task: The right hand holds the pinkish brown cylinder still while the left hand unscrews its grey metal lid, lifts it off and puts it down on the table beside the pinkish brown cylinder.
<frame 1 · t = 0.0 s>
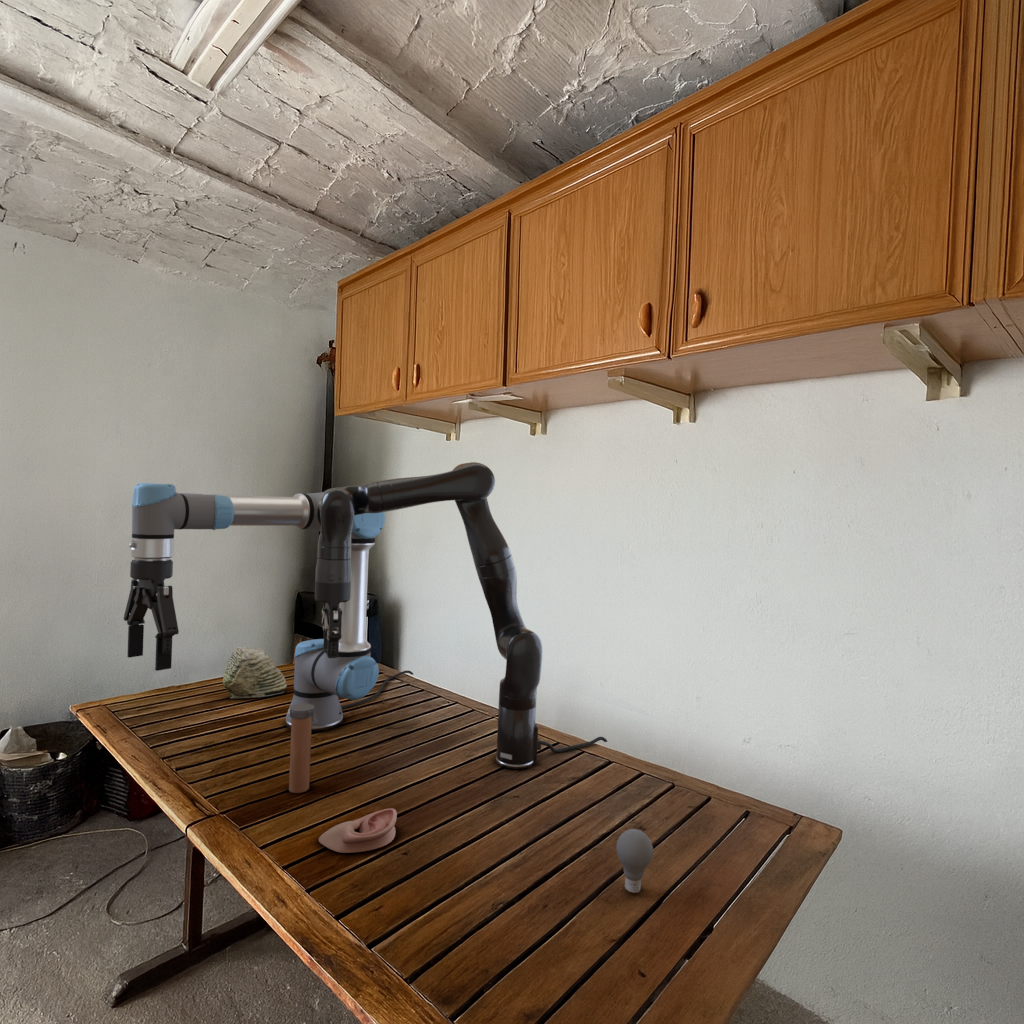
left hand: (148, 662, 129), 28 cm above the table, tool pointing down, fingers open, 13 cm apart
right hand: (330, 652, 138), 29 cm above the table, tool pointing down, fingers open, 8 cm apart
light bulb: (632, 891, 106), on the table
fossil: (254, 694, 198), on the table
lid: (302, 708, 137), point 17 cm above the table, screwed on, not yet turned
pinkish brown cylinder: (299, 788, 137), on the table
anatomical model: (358, 838, 118), on the table
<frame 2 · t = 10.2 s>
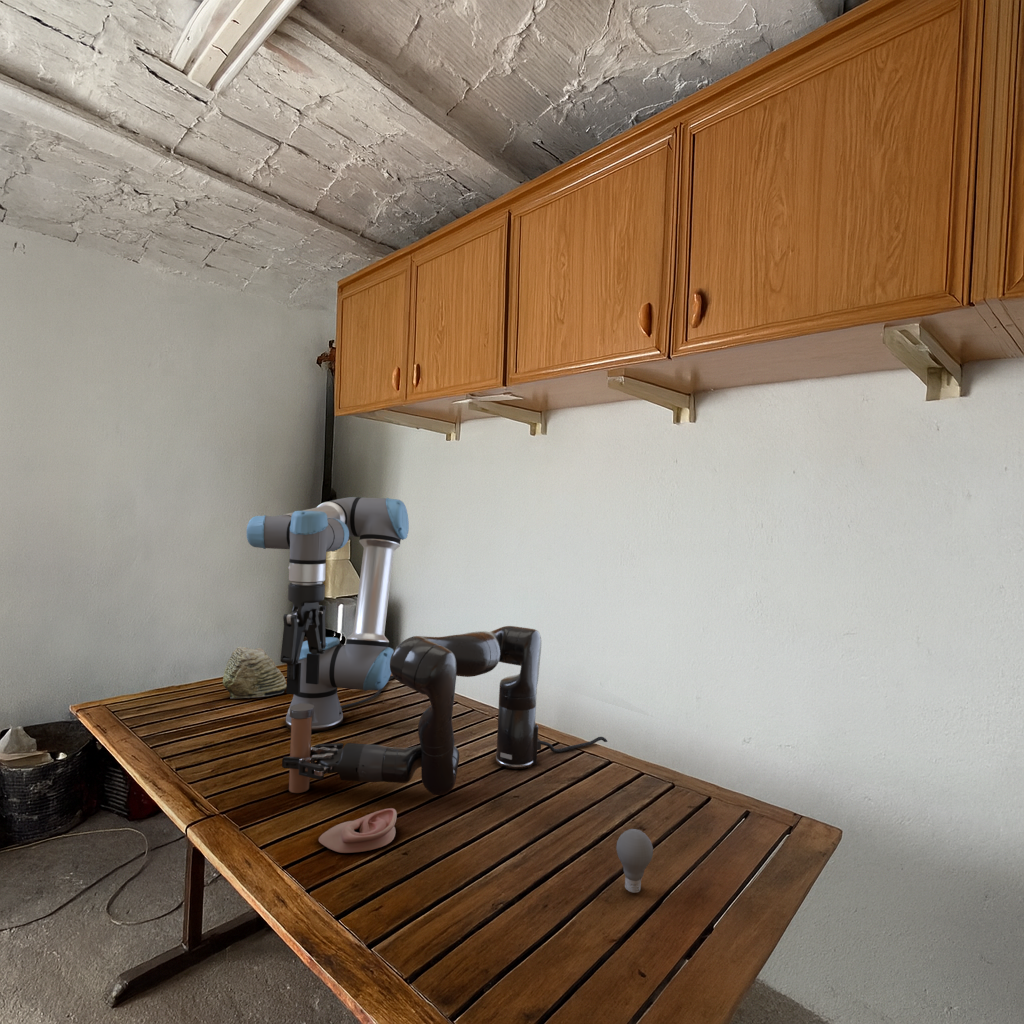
left hand: (302, 688, 137), 22 cm above the table, tool pointing down, fingers open, 7 cm apart
right hand: (287, 757, 137), 7 cm above the table, tool horizontal, fingers closed on pinkish brown cylinder, 4 cm apart
pinkish brown cylinder: (299, 788, 137), on the table, touching right hand
everything else where it was.
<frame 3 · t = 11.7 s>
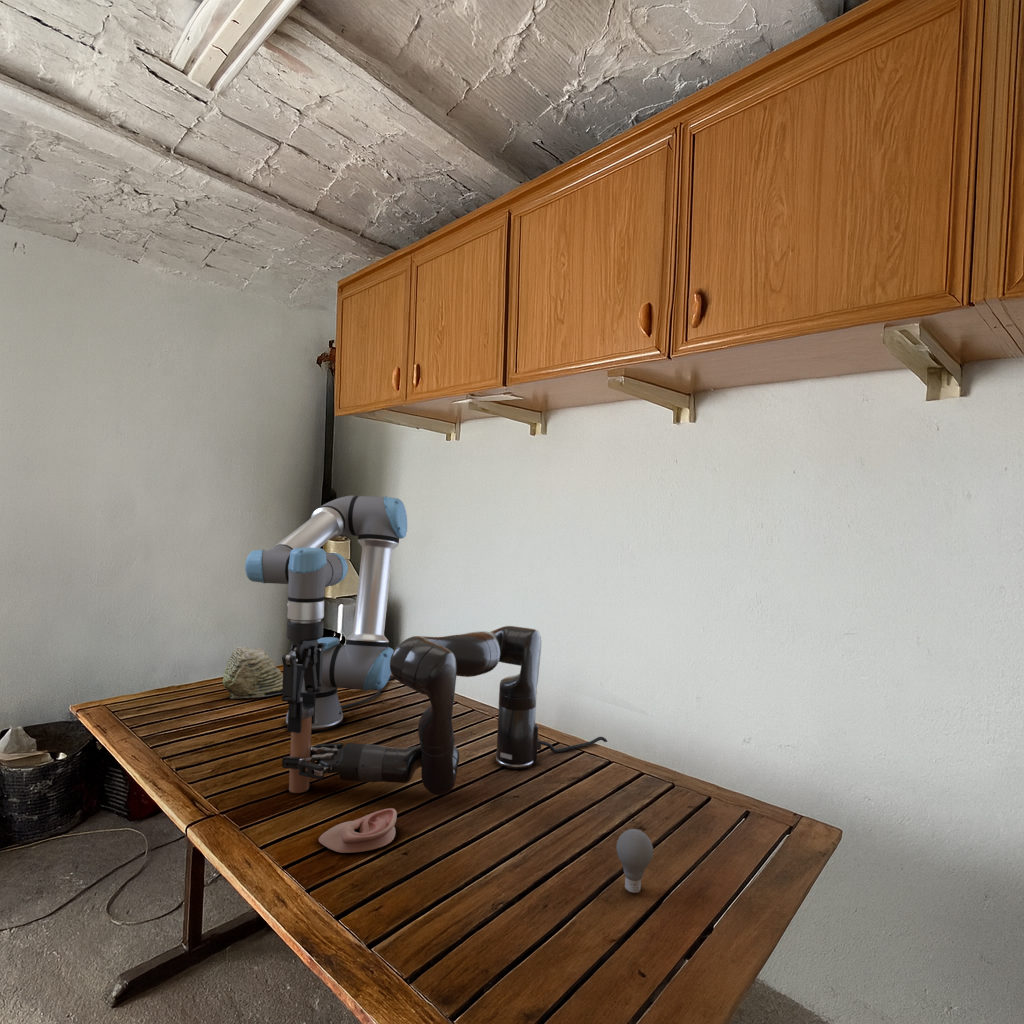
left hand: (301, 726, 137), 13 cm above the table, tool pointing down, fingers closed on lid, 5 cm apart
right hand: (287, 757, 137), 7 cm above the table, tool horizontal, fingers closed on pinkish brown cylinder, 4 cm apart
lid: (302, 708, 137), point 17 cm above the table, screwed on, not yet turned, touching left hand
pinkish brown cylinder: (299, 788, 137), on the table, touching right hand
everything else where it was.
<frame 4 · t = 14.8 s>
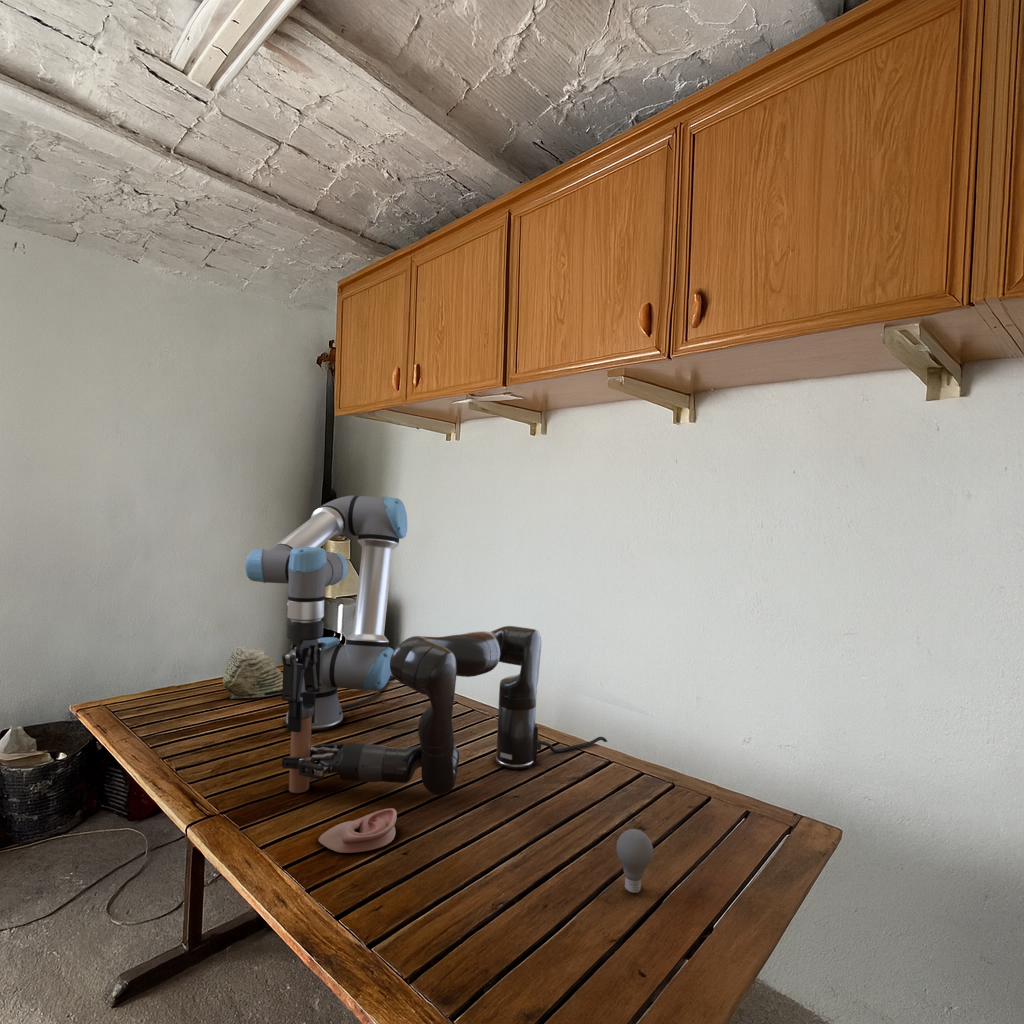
left hand: (301, 726, 137), 14 cm above the table, tool pointing down, fingers closed on lid, 5 cm apart
right hand: (287, 757, 137), 7 cm above the table, tool horizontal, fingers closed on pinkish brown cylinder, 4 cm apart
lid: (302, 708, 137), point 18 cm above the table, turned 77° so far, risen 0.1 cm, still on its thread, touching left hand
pinkish brown cylinder: (299, 788, 137), on the table, touching right hand
everything else where it was.
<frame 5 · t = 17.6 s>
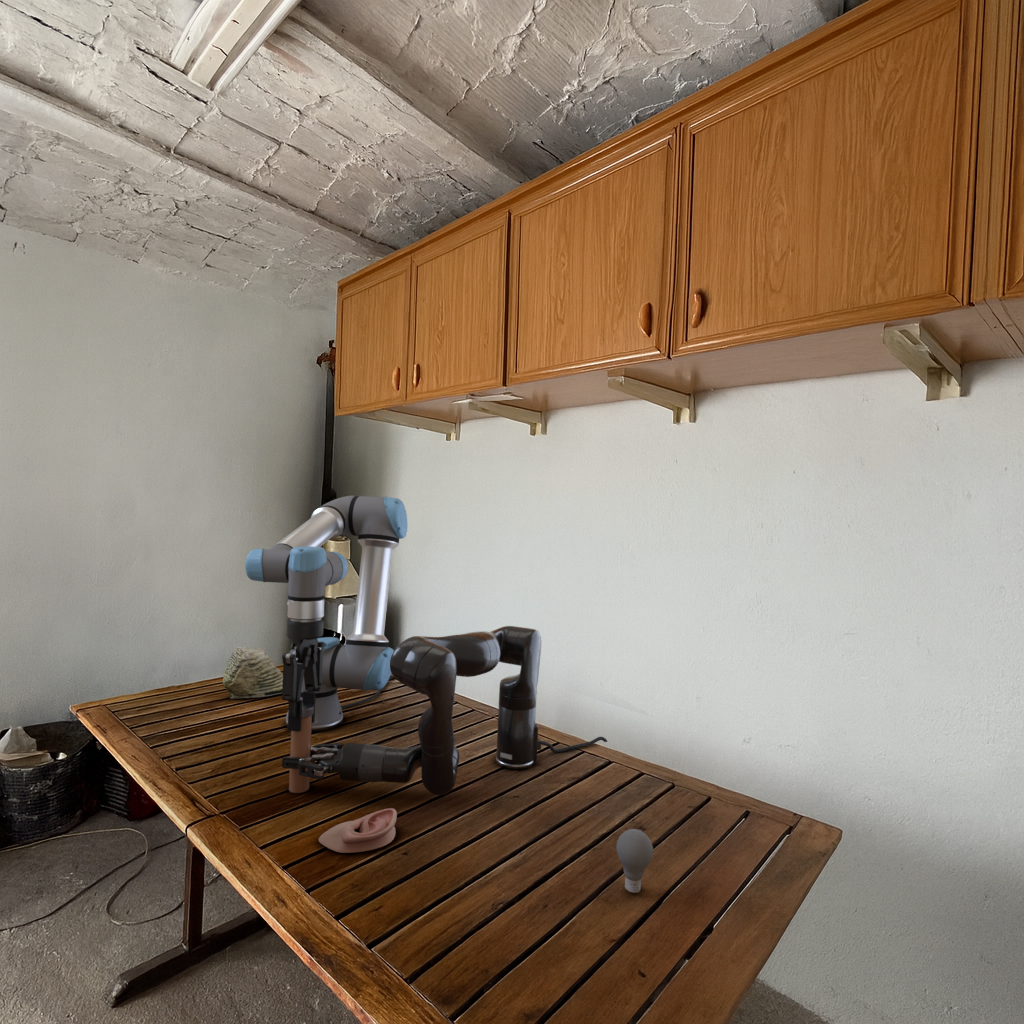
left hand: (301, 725, 137), 14 cm above the table, tool pointing down, fingers closed on lid, 5 cm apart
right hand: (287, 757, 137), 7 cm above the table, tool horizontal, fingers closed on pinkish brown cylinder, 4 cm apart
lid: (302, 707, 137), point 18 cm above the table, turned 155° so far, risen 0.3 cm, still on its thread, touching left hand
pinkish brown cylinder: (299, 788, 137), on the table, touching right hand
everything else where it was.
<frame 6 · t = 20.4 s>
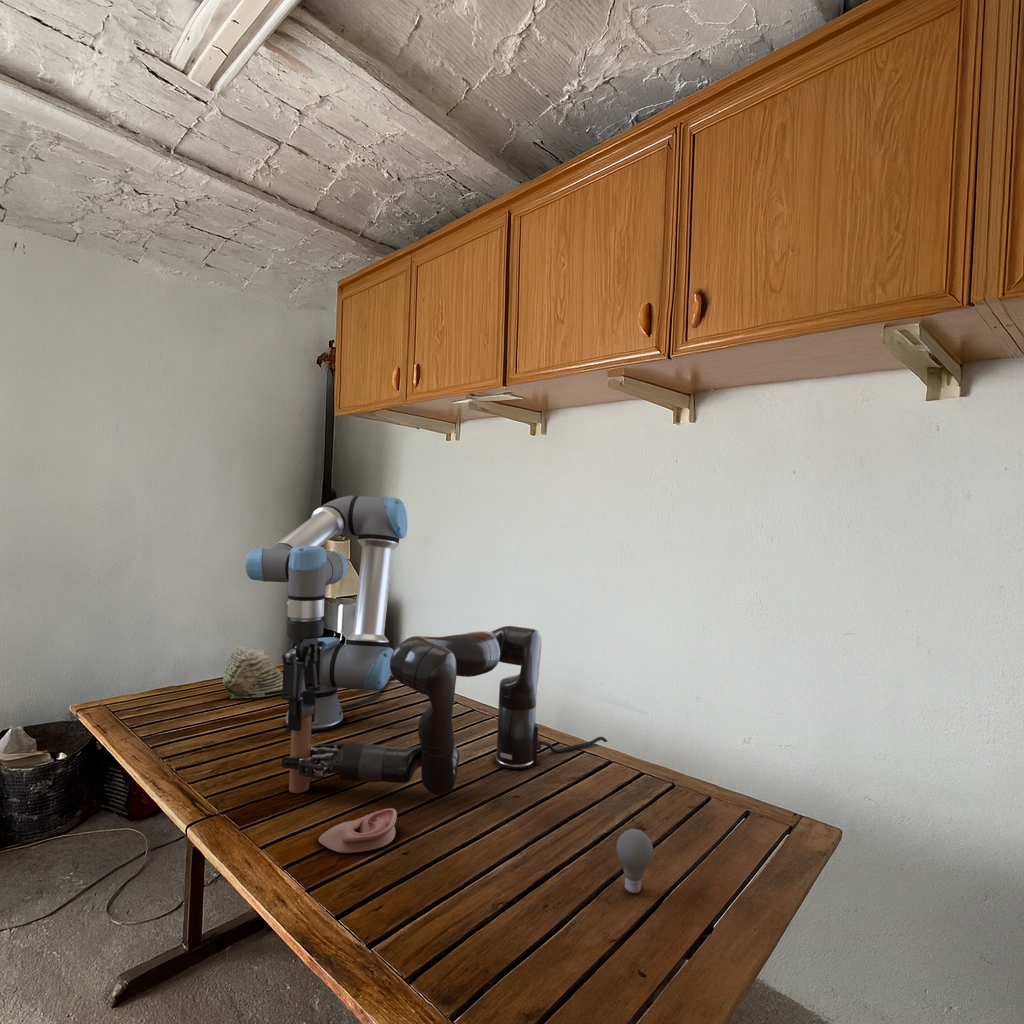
left hand: (301, 725, 137), 14 cm above the table, tool pointing down, fingers closed on lid, 5 cm apart
right hand: (287, 757, 137), 7 cm above the table, tool horizontal, fingers closed on pinkish brown cylinder, 4 cm apart
lid: (302, 706, 137), point 18 cm above the table, turned 232° so far, risen 0.4 cm, still on its thread, touching left hand
pinkish brown cylinder: (299, 788, 137), on the table, touching right hand
everything else where it was.
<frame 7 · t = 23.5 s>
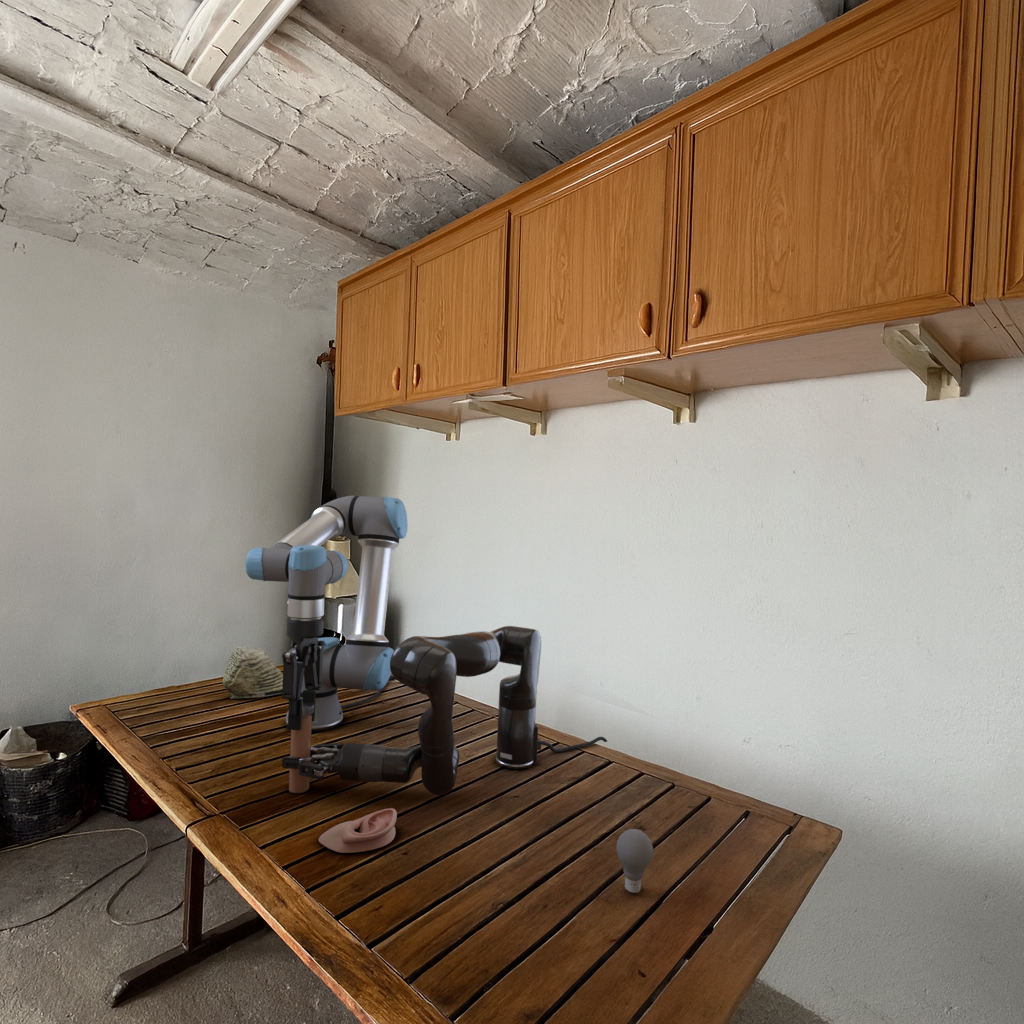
left hand: (301, 724, 137), 14 cm above the table, tool pointing down, fingers closed on lid, 5 cm apart
right hand: (287, 757, 137), 7 cm above the table, tool horizontal, fingers closed on pinkish brown cylinder, 4 cm apart
lid: (302, 706, 137), point 18 cm above the table, turned 309° so far, risen 0.5 cm, still on its thread, touching left hand
pinkish brown cylinder: (299, 788, 137), on the table, touching right hand
everything else where it was.
when the left hand's fingers open (0 cm above the table, at t = 30.1 s): lid drops 3 cm, point 1 cm above the table.
when the right hand's fingers open (7 cm above the table, at t = 30.7 s): pinkish brown cylinder stays where it is, on the table.
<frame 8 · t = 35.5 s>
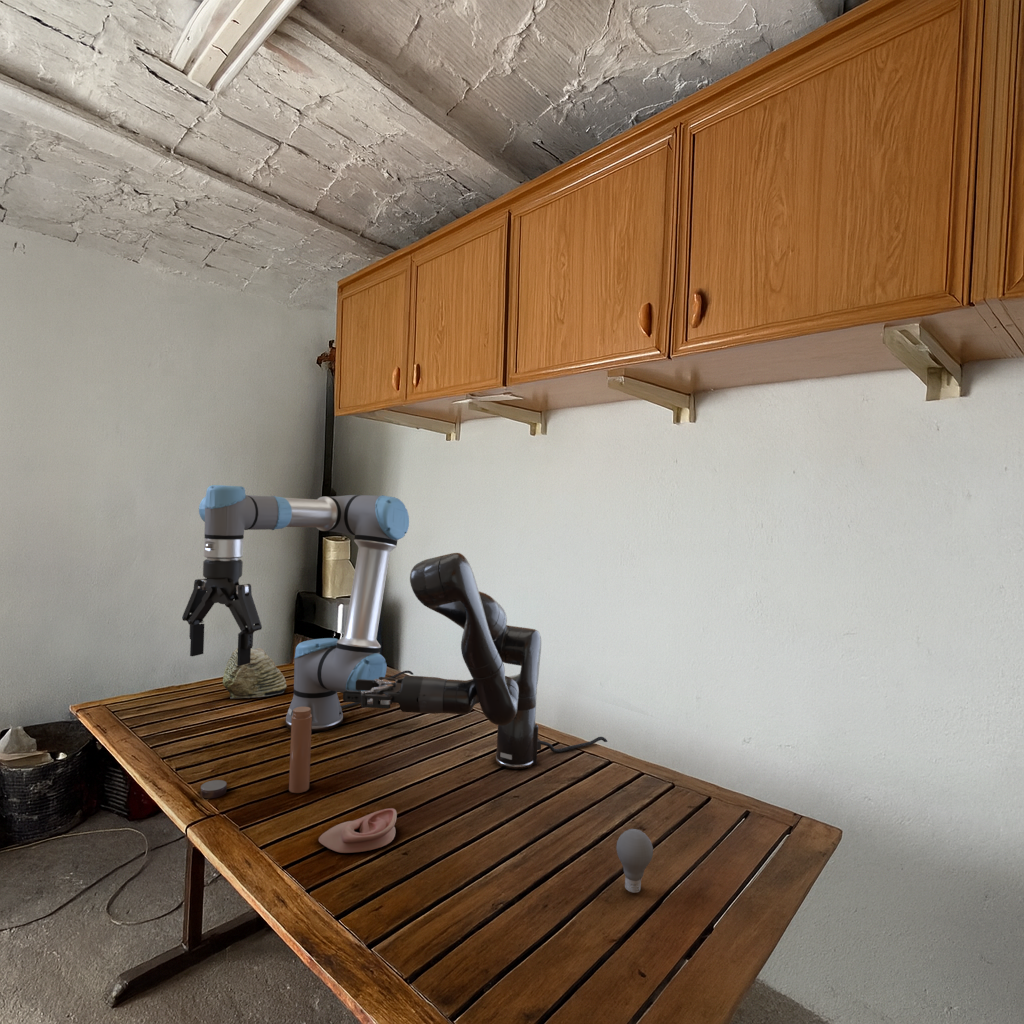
left hand: (219, 659, 133), 28 cm above the table, tool pointing down, fingers open, 13 cm apart
right hand: (349, 689, 136), 22 cm above the table, tool horizontal, fingers open, 8 cm apart
lid: (213, 786, 133), point 1 cm above the table, off its thread
pinkish brown cylinder: (299, 788, 137), on the table
everything else where it was.
at the end: lid came off its thread; lid point 1.3 cm above the table; the left hand is holding nothing; the right hand is holding nothing; pinkish brown cylinder tilted 0°; pinkish brown cylinder moved 0.0 cm from its start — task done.
